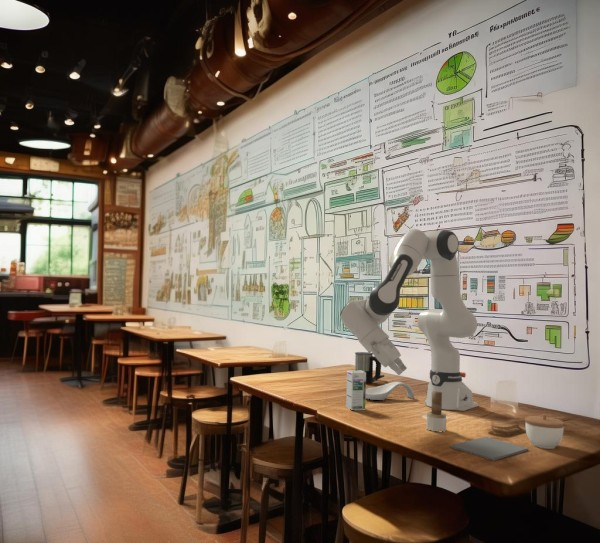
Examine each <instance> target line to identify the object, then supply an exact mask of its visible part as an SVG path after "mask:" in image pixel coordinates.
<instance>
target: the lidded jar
mask: <svg viewBox="0 0 600 543" xmlns="http://www.w3.org/2000/svg"><path fill="white" fill-rule="evenodd" d="M524 422H525V423H524V424H525V427H524V428H525V432H526V433H525V434H526V437H527V438H528V440H529V441H530V442H531V443H532V445H533V446H534V447H536V448H540V449H546V450H548V449H549V450H553V449H556V447H557V446H558V445H559V444H560V443H562V440H563V437H564V431H565V429H564V426H565V422H564V421H563V420H561V419H557V418H554V417H549V416H547V414H545V413H542V415H541V416H540V415H529V416H528V415H527V416H525V418H524Z"/></svg>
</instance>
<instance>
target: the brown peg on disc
mask: <svg viewBox="0 0 600 543" xmlns="http://www.w3.org/2000/svg"><path fill="white" fill-rule="evenodd" d="M442 410H443V409H442V392H438V391H432V407H431V411H427V412H426V417H427V416H428V417H432V418H446V419H447V413H444V412H442Z"/></svg>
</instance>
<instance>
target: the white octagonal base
mask: <svg viewBox="0 0 600 543" xmlns="http://www.w3.org/2000/svg"><path fill="white" fill-rule="evenodd" d="M425 420H426V425H425V426H426V430H427V429H429V430H432V431H445V432H446V430H447V417H446V418H432V417H428V416H427V415H426V419H425ZM429 430H428V431H429ZM432 431H431V432H432Z"/></svg>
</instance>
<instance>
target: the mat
mask: <svg viewBox="0 0 600 543" xmlns="http://www.w3.org/2000/svg"><path fill="white" fill-rule="evenodd" d="M449 448H452V449H454V450H457V451H461V452H464V453H467V454H471V455H474V456H477V457H481V458H484V459H487V460H491V461H497V460H500V459H503V458H507V457H511V456H514V455H518V454H521V453H524V452H529V448H528V447H525V446H522V445H517V444H513V443H511V442H506V441H503V440H499V439H496V438H495V439H494V438H492V437H488V436H484V437H483V436H482V437H479V438H475V439H471V440H467V441H462V442H458V443H455V444H454V443H453V444H450V445H449Z"/></svg>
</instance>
